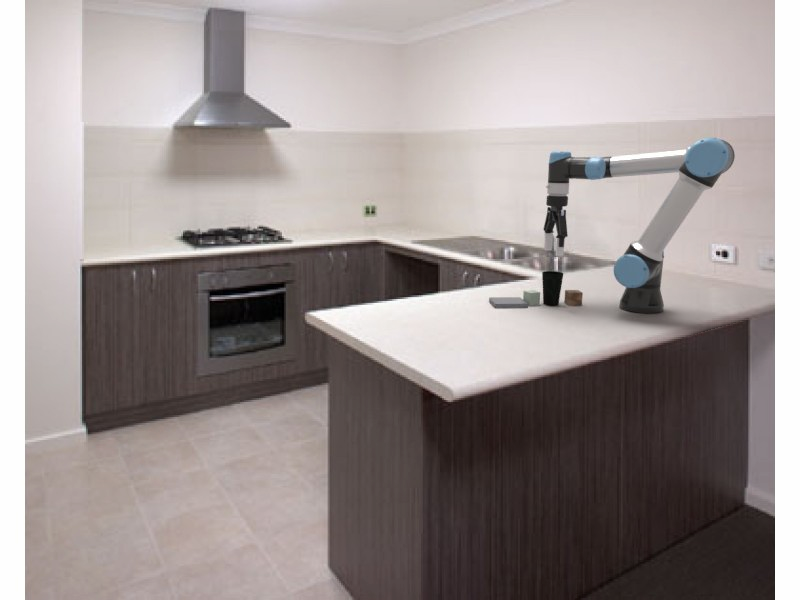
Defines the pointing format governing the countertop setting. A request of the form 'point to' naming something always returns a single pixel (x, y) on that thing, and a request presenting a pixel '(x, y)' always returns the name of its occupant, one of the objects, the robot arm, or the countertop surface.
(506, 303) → the plate
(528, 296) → the sage block
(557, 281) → the cup
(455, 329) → the countertop surface
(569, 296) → the walnut block
